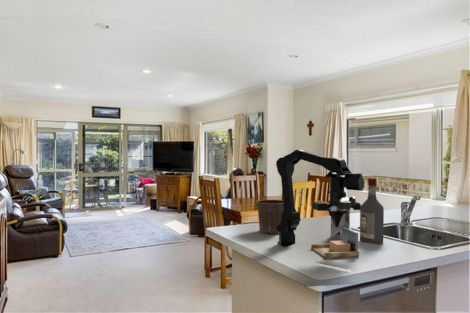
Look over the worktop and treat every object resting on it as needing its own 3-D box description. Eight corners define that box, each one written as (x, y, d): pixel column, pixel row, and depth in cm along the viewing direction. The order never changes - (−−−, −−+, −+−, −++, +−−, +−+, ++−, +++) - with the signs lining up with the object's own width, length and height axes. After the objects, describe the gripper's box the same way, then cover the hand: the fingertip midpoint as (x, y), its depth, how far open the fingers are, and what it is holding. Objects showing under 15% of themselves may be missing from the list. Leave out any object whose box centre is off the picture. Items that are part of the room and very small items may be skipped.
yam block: (336, 253, 140) (336, 244, 140) (329, 249, 146) (329, 240, 146) (350, 252, 141) (350, 244, 141) (343, 248, 147) (343, 240, 147)
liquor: (372, 239, 171) (372, 177, 170) (386, 243, 162) (387, 179, 162) (357, 240, 167) (357, 178, 167) (370, 245, 159) (371, 179, 159)
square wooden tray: (325, 261, 135) (325, 253, 135) (311, 251, 149) (311, 244, 149) (358, 259, 138) (358, 251, 138) (341, 249, 152) (342, 242, 151)
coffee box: (337, 235, 178) (337, 203, 178) (349, 237, 174) (350, 205, 174) (329, 238, 171) (330, 205, 171) (342, 240, 167) (343, 207, 167)
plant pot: (249, 231, 185) (249, 201, 185) (268, 227, 197) (269, 198, 197) (273, 237, 174) (273, 204, 174) (292, 232, 185) (292, 201, 185)
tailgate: (358, 257, 139) (355, 257, 139) (344, 249, 150) (342, 249, 150) (358, 233, 139) (355, 233, 139) (344, 227, 150) (342, 227, 150)
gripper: (323, 191, 134) (323, 232, 134) (368, 190, 137) (368, 230, 137) (312, 188, 145) (312, 226, 145) (354, 188, 148) (353, 224, 148)
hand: (336, 227), depth 144 cm, fingers closed
